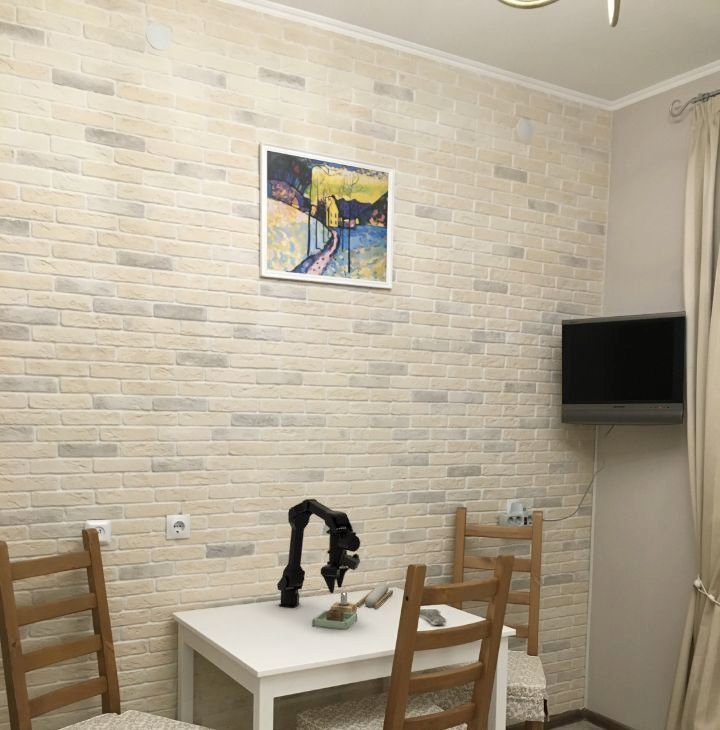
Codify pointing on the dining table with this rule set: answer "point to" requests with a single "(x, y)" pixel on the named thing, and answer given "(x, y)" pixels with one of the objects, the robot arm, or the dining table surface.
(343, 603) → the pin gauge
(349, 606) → the oak block
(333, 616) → the walnut block
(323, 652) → the dining table surface
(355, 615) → the tray
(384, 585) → the tube
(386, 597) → the tube rest
